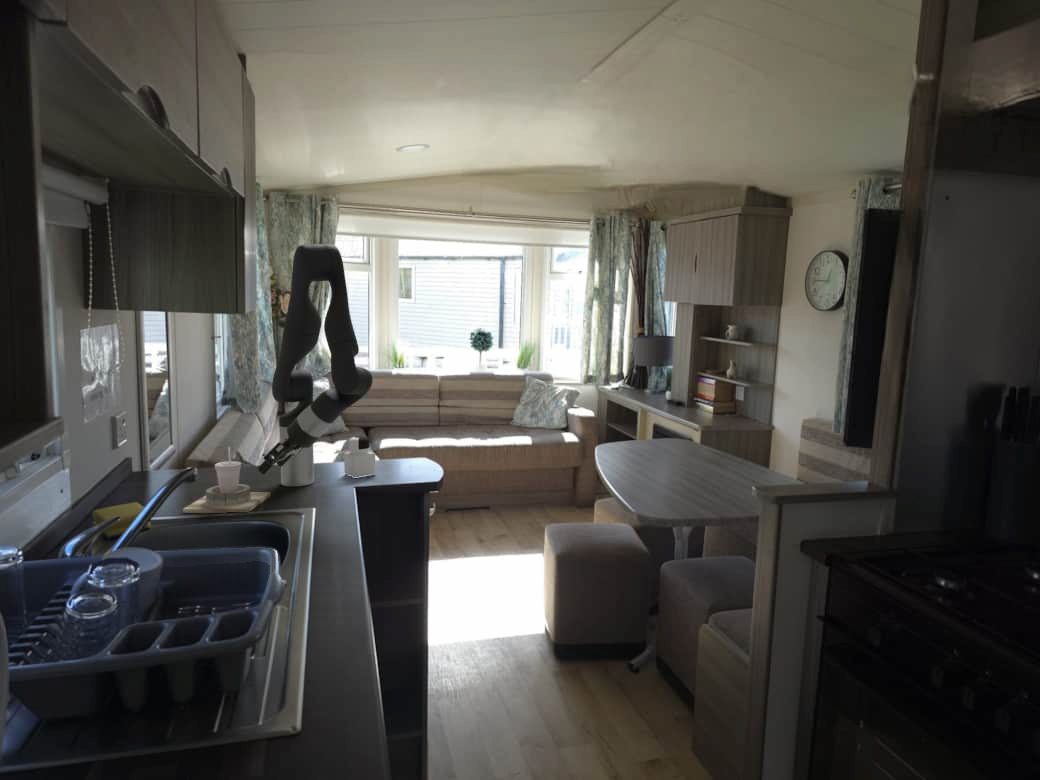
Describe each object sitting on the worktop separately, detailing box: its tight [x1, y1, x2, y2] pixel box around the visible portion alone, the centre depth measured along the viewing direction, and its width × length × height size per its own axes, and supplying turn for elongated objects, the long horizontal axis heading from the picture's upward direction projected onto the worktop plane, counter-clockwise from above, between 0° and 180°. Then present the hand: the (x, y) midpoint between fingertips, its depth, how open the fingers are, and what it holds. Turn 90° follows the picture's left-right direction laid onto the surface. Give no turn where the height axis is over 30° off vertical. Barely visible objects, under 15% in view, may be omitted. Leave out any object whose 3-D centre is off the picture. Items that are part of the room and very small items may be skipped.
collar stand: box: [182, 483, 272, 514], centre depth 174 cm, size 16×16×4 cm
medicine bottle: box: [343, 435, 376, 477], centre depth 206 cm, size 7×7×12 cm
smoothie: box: [214, 446, 242, 493], centre depth 173 cm, size 6×6×14 cm
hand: (269, 467), depth 171 cm, fingers open, 8 cm apart
